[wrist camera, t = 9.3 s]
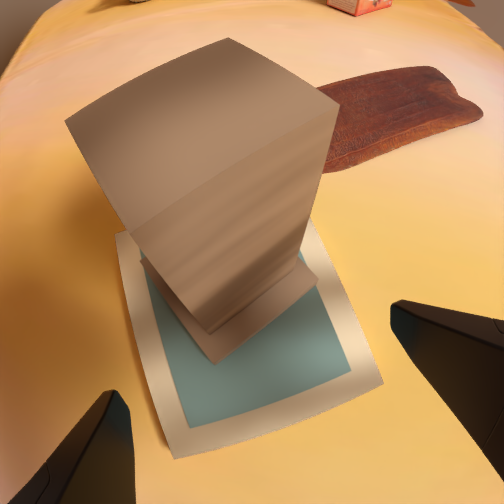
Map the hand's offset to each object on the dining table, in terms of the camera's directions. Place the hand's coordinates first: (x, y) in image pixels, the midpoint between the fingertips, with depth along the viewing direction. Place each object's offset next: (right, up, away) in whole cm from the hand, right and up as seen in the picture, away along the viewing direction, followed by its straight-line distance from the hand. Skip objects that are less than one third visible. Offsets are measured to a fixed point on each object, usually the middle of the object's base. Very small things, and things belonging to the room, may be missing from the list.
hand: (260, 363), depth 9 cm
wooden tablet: (+13, +17, +18) cm, 28 cm away
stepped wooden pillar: (-2, +2, +9) cm, 9 cm away
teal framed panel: (-1, 0, +9) cm, 9 cm away
